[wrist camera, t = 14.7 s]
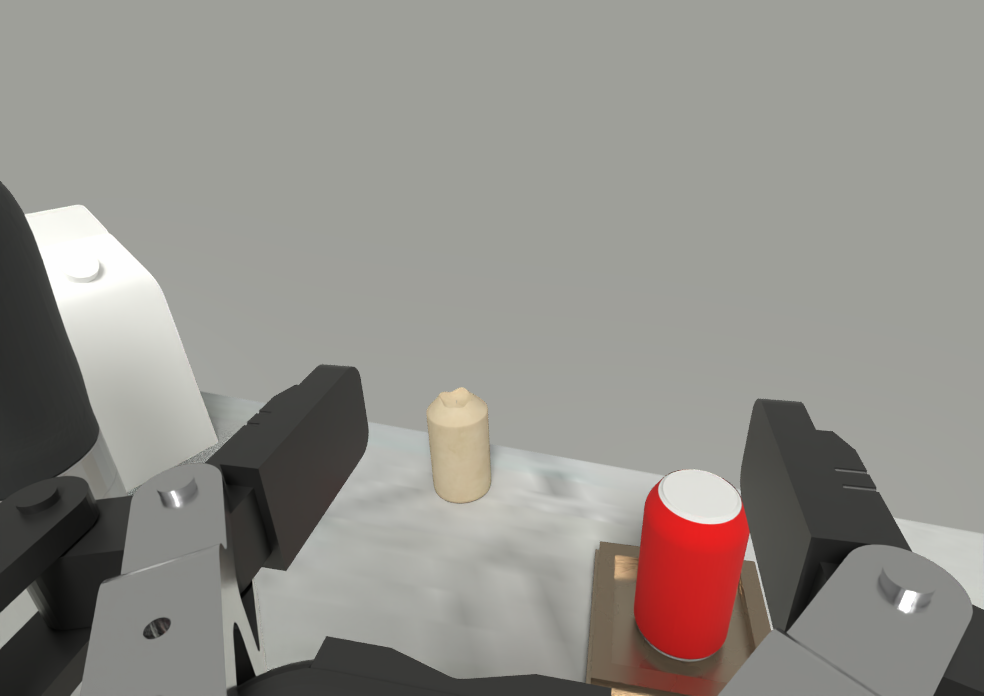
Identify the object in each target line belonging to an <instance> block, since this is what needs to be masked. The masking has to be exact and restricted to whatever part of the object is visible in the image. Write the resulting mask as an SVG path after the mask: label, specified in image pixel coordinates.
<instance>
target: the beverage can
mask: <svg viewBox="0 0 984 696" xmlns="http://www.w3.org/2000/svg"><path fill="white" fill-rule="evenodd" d="M749 533H750V531H749V526H748V522H747V518H746V514H745V510H744V506H743V502H742V498H741V496H740V494H739V493H738V491H737V490H736V489H735V487H733V485H731V484H730V483H729V482H728V481H726V480H725V479H723V478H721V477H719V476H717V475H715V474H712V473H709V472H705V471H701V470H693V469H687V470H686V469H685V470H678V471H674V472H672V473H669V474H668V475H666V476H665V477H664V478H662V479H661V480H660V481H659V482H658V483H657V484H656V485H655V486H654V487H653V488H652V490H651V491H650V493H649V494H648V496H647V499H646V502H645V507H644V516H643V526H642V535H641V544H640V553H639V563H638V572H637V581H636V590H635V600H634V616H635V620H636V623H637V626H638V629H639V631H640V633H641V634H642V636H643V637H644V639H645V640H646V641H647V642H648V643H649V644H650V645H651V646H652V647H653V648H654V649H656V650H657V651H658V652H660V653H662V654H663V655H665V656H667V657H670V658H673V659H676V660H680V661H688V662H692V661H700V660H704V659H706V658H708V657H710V656H712V655H713V654H715V653H716V652H717V651H718V650H719V649H720V648H721V646H722V645H723V644H724V642H725V640H726V637H727V633H728V629H729V624H730V620H731V615H732V611H733V606H734V601H735V597H736V592H737V588H738V583H739V579H740V574H741V570H742V565H743V561H744V556H745V552H746V547H747V542H748V538H749Z"/></svg>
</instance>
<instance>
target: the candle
mask: <svg viewBox="0 0 984 696" xmlns="http://www.w3.org/2000/svg"><path fill="white" fill-rule="evenodd" d="M427 423H428V433H429V443H430V453H431V462H432V472H433V481H434V487H435V490H436V493H437V494H438V495H439V496H440V497H441V498H442V499H444V500H446V501H449V502H453V503H468V502H472V501H475V500H477V499H479V498H481V497H482V496H484V495H485V494H486V493H487V492H488V490H489V488H490V484H491V467H490V446H489V426H488V425H489V424H488V407H487V405H486V403H485V402H484V401H483V400H482V399H480V398H479V397H477V396H476V395H474V394H472V393H470V392H469V391H467V390H466V389H465V388H458V389H456V390H454V391H453V392H442V393H440V394H439V396H438V397H437V398H436V399H435V400H434V401H433V402H432V403H431V404H430V405H429V407H428V409H427Z"/></svg>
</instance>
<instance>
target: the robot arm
mask: <svg viewBox="0 0 984 696" xmlns="http://www.w3.org/2000/svg"><path fill="white" fill-rule="evenodd" d="M368 433H369V432H368V422H367V417H366V409H365V403H364V397H363V391H362V385H361V379H360V374H359V372H358V370H357V369H356V368H355V367H349V366H335V365H319V366H318V367H316V368H315V370H313V371H312V373H310V374H309V375H308V376H307V377H306V378H305V379H304V380H303V381H302V383H300V384H299V385H294V386H292V387H291V388H289V389H287V390H285V391H283V392H281V393H279V394H278V395H276V396H274V397H273V398H272V399H271V400H270V401H269V402H268V403H267V404H266V405H265V406H264V407H263V408H262V409H260V410H259V414H257V413H256V414H255V415H254V416H253V417H252V418H251V419H250V420H249V421H248V422H247V426H246V425H244V426H243V427H242V428H241V429H240V430H239V431H238V432H237V433H236V434H235V435H233V436H232V437H231V438H230V439H229V440H228V441H227V442H226V443H225V444H224V445H223V446H222V447H221V448H220V449H219V450H218V451H217V452H216V453H215V454H214V455H213V456H212V457H211V458H210V459H209V460H207V461H206V462H205V463H191V464H184V465H180V466H176V467H173V468H170V469H168V470H165V471H163V472H161V473H159V474H157V475H155V476H153V477H152V478H150V479H149V480H147V481H146V482H145V483H144V484H143V485H141V486H140V487H139V488H138V490H137V491H136V492H135V494H134V495H133V496H128V494H127V492H126V489H125V487H124V484H123V482H122V480H121V477H120V475H119V472H118V470H117V467H116V465H115V463H114V461H113V458H112V456H111V453H110V451H109V448H108V446H107V444H106V441H105V439H104V436H103V434H102V431H101V429H100V427H99V424H98V422H97V419H96V417H95V415H94V412H93V410H92V407H91V404H90V401H89V397H88V394H87V390H86V387H85V383H84V379H83V376H82V373H81V370H80V367H79V364H78V361H77V358H76V356H75V353H74V351H73V348H72V346H71V343H70V340H69V338H68V335H67V332H66V330H65V327H64V324H63V321H62V318H61V315H60V312H59V309H58V306H57V303H56V300H55V297H54V294H53V290H52V287H51V284H50V281H49V278H48V275H47V271H46V268H45V265H44V262H43V259H42V256H41V254H40V251H39V248H38V245H37V243H36V240H35V237H34V235H33V232H32V230H31V228H30V226H29V223H28V221H27V219H26V217H25V215H24V213H23V211H22V209H21V208H20V206H19V205H18V203H17V201H16V200H15V198H14V197H13V195H12V194H11V193H10V191H9V190H8V189H7V188H6V187H5V186H4V185H3V184H2V182H1V181H0V696H611V692H612V688H609V687H604V686H598V685H593V684H587V683H582V682H576V681H571V680H565V679H559V678H554V677H548V676H543V675H537V674H532V675H518V676H503V677H489V678H474V679H456V678H452V677H450V676H448V675H445V674H443V673H441V672H439V671H437V670H435V669H433V668H431V667H429V666H427V665H425V664H423V663H421V662H419V661H417V660H415V659H413V658H411V657H409V656H407V655H404V654H402V653H400V652H398V651H396V650H394V649H392V648H388V647H383V646H377V645H372V644H366V643H361V642H355V641H350V640H344V639H339V638H333V637H328V636H326V638H325V640H324V642H323V644H322V646H321V648H320V649H319V651H318V653H317V655H316V657H315V659H314V660H306V661H301V662H296V663H291V664H288V665H284V666H281V667H278V668H275V669H272V670H270V671H267V666H266V659H265V651H264V642H263V634H262V626H261V618H260V610H259V602H258V594H257V588H256V584H255V581H254V577H255V575H256V574H257V572H258V571H259V570H260V568H261V567H265V568H271V569H278V570H284V571H286V570H287V569H288V567H289V566H290V564H291V563H292V561H293V560H294V558H295V557H296V555H297V554H298V552H299V551H300V549H301V548H302V546H303V545H304V543H305V542H306V540H307V539H308V537H309V536H310V534H311V533H312V531H313V530H314V528H315V527H316V525H317V524H318V522H319V521H320V519H321V518H322V516H323V515H324V513H325V512H326V510H327V509H328V507H329V506H330V504H331V503H332V501H333V500H334V498H335V497H336V495H337V494H338V492H339V491H340V489H341V488H342V486H343V485H344V483H345V482H346V480H347V479H348V477H349V476H350V474H351V473H352V471H353V470H354V468H355V467H356V465H357V464H358V462H359V461H360V459H361V458H362V456H363V455H364V452H365V450H366V447H367V442H368ZM740 478H741V479H740V487H741V497H742V502H743V506H744V510H745V514H746V518H747V522H748V526H749V531H750V535H751V539H752V543H753V547H754V551H755V555H756V559H757V563H758V568H759V572H760V576H761V580H762V584H763V588H764V592H765V596H766V600H767V604H768V609H769V613H770V617H771V621H772V625H773V629H774V630H772V631H771V632H770V633H769V634H768V635H767V636H766V637H765V638H764V640H763V641H762V642H761V643H760V644H759V646H758V647H757V648H756V649H755V651H754V652H753V653H752V654H751V655H750V657H749V658H748V659H747V660H746V662H745V663H744V664H743V665H742V666H741V668H740V669H739V670H738V671H737V673H736V674H735V675H734V676H733V677H732V679H731V680H730V681H729V682H728V684H727V685H726V686H725V687H724V688H723V690H722V691H721V692H720V693H719V695H718V696H984V610H983V609H981V608H979V607H976V606H974V605H972V603H971V600H970V598H969V596H968V594H967V592H966V591H965V589H964V588H963V587H962V586H961V584H960V583H959V582H958V581H957V580H956V579H955V578H954V577H953V576H952V575H951V574H949V573H948V572H947V571H946V570H944V569H943V568H942V567H940V566H938V565H937V564H935V563H934V562H932V561H930V560H928V559H927V558H925V557H923V556H920V555H918V554H916V553H914V552H912V551H911V549H910V547H909V545H908V543H907V542H906V540H905V538H904V536H903V534H902V533H901V531H900V529H899V527H898V525H897V524H896V522H895V520H894V518H893V517H892V515H891V513H890V511H889V509H888V508H887V506H886V504H885V502H884V501H883V499H882V497H881V495H880V493H879V492H876V486H875V484H874V483H873V481H872V479H871V477H870V475H867V470H866V468H865V466H864V465H863V463H862V461H861V459H860V457H859V456H858V454H857V452H856V450H855V449H853V448H852V447H851V446H850V445H848V444H847V443H846V442H845V441H843V439H841V438H840V437H839V436H838V435H836V434H835V433H834V432H833V431H821V430H816V429H815V427H814V425H813V423H812V421H811V419H810V417H809V414H808V413H807V410H806V408H805V406H804V405H803V403H802V402H795V401H782V400H769V399H757V400H756V402H755V404H754V406H753V411H752V415H751V420H750V425H749V430H748V436H747V441H746V446H745V451H744V456H743V461H742V466H741V477H740Z"/></svg>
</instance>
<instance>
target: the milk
mask: <svg viewBox="0 0 984 696" xmlns="http://www.w3.org/2000/svg"><path fill="white" fill-rule="evenodd" d="M25 217H26V219H27V221H28V223H29V226H30V228H31V230H32V232H33V235H34V237H35V240H36V243H37V245H38V248H39V251H40V254H41V256H42V259H43V262H44V265H45V268H46V271H47V275H48V278H49V281H50V284H51V287H52V290H53V294H54V297H55V300H56V303H57V306H58V309H59V312H60V315H61V318H62V321H63V324H64V327H65V330H66V332H67V335H68V338H69V340H70V343H71V346H72V348H73V351H74V353H75V356H76V358H77V361H78V364H79V367H80V370H81V373H82V376H83V379H84V383H85V387H86V390H87V394H88V397H89V401H90V404H91V407H92V410H93V412H94V415H95V417H96V419H97V422H98V424H99V427H100V429H101V431H102V434H103V436H104V439H105V441H106V444H107V446H108V448H109V451H110V453H111V456H112V458H113V461H114V463H115V465H116V467H117V470H118V472H119V475H120V477H121V480H122V482H123V484H124V487H125V489H126V492H129V491H131V490H132V489H134V488H136V487H138V486H140V485H142V484H143V483H145V482H146V481H147V480H149V479H150V478H152V477H153V476H155V475H157V474H159V473H161V472H163V471H165V470H168V469H170V468H173V467H174V466H176V465H178V464H180V463H182V462H184V461H185V460H187V459H189V458H191V457H193V456H195V455H196V454H198V453H200V452H202V451H204V450H206V449H207V448H209V447H211V446H213V445H215V444H217V443H218V439H217V436H216V434H215V431H214V428H213V425H212V423H211V420H210V417H209V415H208V412H207V409H206V407H205V404H204V401H203V399H202V396H201V393H200V391H199V388H198V385H197V383H196V380H195V377H194V375H193V372H192V369H191V366H190V364H189V361H188V358H187V356H186V353H185V350H184V347H183V345H182V342H181V340H180V337H179V334H178V331H177V329H176V326H175V324H174V321H173V318H172V315H171V313H170V310H169V307H168V305H167V302H166V299H165V297H164V294H163V292H162V290H161V288H160V286H159V285H158V283H157V281H156V280H155V279H154V278H153V277H152V275H151V274H150V273H149V272H148V271H147V270H146V269H145V268H144V267H143V266H142V265H141V264H140V263H139V262H138V261H137V260H136V259H135V258H134V257H133V256H132V255H131V254H130V253H129V252H128V251H127V250H126V249H125V248H124V247H123V246H122V245H121V244H120V243H119V242H118V241H117V240H116V239H115V238H114V237H113V236H112V235H111V234H109V233H108V231H107V230H106V229H105V227H104V226H103V225H102V224H101V223H100V222H99V221H98V220H97V219H96V218H95V217H94V216H93V215H92V214H91V213H90V212H89V211H88V210H87V209H86V207H85V206H82V205H73V206H68V207H63V208H57V209H52V210H46V211H41V212H36V213H30V214H25Z"/></svg>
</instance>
